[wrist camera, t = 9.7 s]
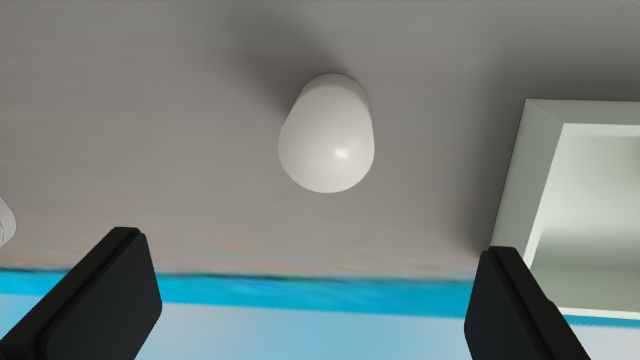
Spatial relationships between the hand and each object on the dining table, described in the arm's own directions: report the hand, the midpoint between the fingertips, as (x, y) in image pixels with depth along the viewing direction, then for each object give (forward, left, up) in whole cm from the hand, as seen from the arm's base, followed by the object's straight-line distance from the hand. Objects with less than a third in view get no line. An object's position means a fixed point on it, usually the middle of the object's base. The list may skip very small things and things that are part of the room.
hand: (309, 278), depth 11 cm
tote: (-21, -1, -17) cm, 27 cm away
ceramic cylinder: (0, 0, -17) cm, 17 cm away
